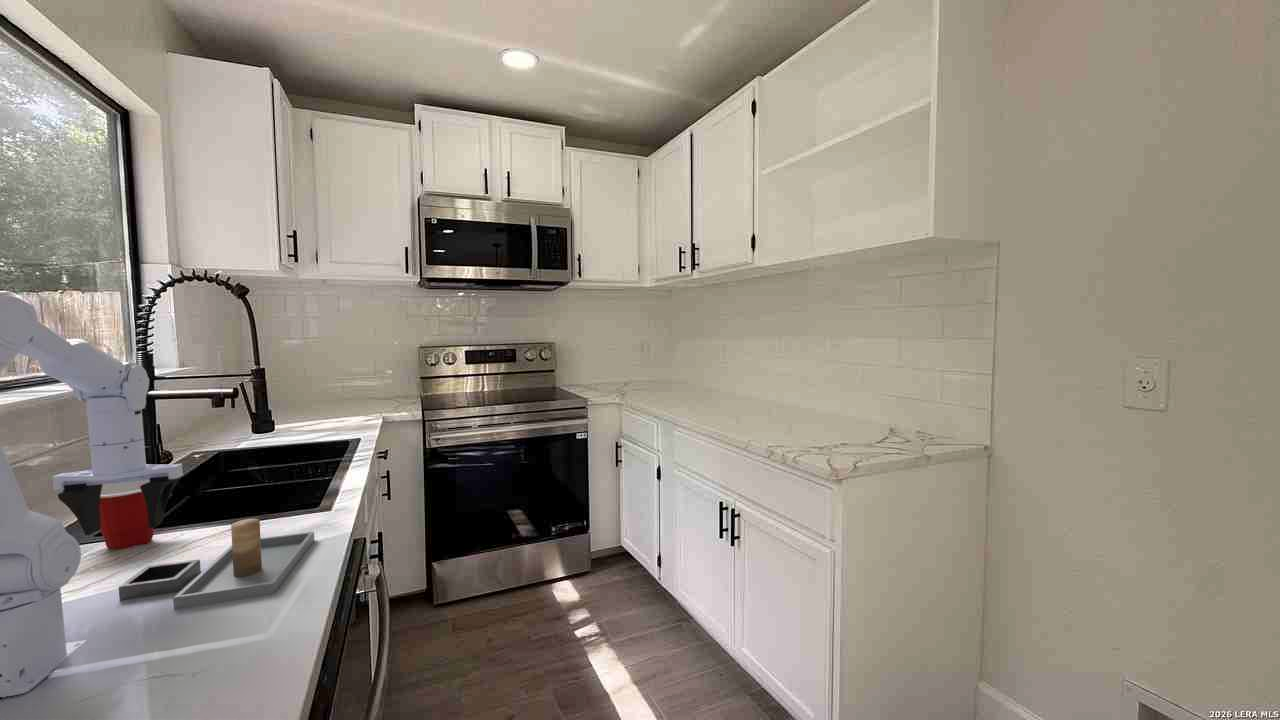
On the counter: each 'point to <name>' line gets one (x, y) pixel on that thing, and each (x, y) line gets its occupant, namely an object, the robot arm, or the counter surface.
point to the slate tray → (224, 586)
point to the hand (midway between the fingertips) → (124, 528)
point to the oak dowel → (246, 547)
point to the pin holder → (159, 580)
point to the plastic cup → (124, 515)
